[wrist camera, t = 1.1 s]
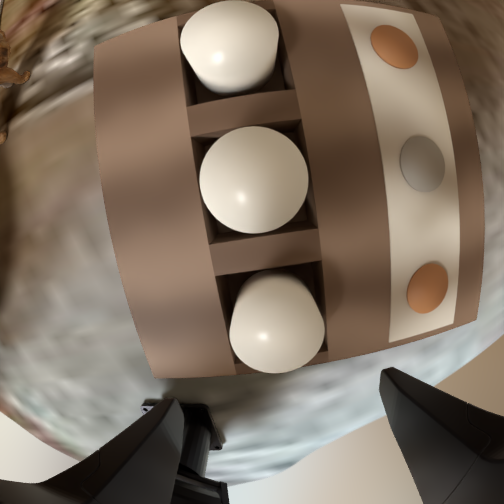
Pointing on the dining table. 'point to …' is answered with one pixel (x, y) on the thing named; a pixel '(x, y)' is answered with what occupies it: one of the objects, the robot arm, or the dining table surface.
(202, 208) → the button board
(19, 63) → the dining table surface
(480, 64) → the dining table surface
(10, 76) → the lion figurine
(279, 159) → the button middle
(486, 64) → the dining table surface
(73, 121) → the dining table surface
